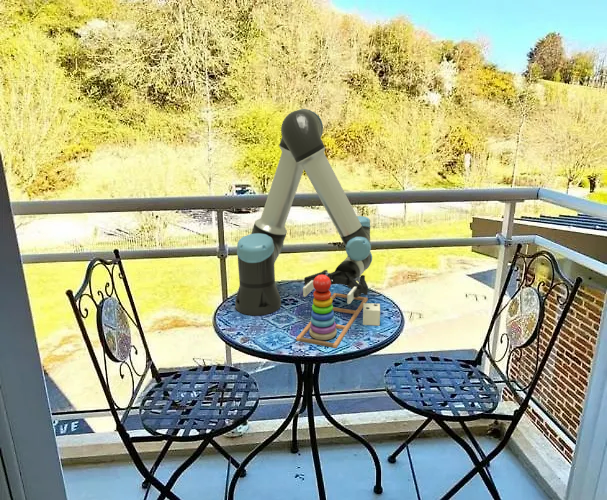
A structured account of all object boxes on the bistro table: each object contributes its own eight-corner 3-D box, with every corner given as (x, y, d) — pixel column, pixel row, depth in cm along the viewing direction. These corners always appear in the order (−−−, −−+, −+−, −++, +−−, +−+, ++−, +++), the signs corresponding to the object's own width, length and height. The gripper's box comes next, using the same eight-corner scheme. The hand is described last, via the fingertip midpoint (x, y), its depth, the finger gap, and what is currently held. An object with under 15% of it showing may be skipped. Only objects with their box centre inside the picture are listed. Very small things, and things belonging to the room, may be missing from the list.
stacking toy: (308, 328, 138) (307, 270, 132) (334, 327, 138) (335, 269, 132) (310, 341, 130) (309, 280, 124) (338, 340, 130) (338, 279, 125)
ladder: (296, 340, 131) (296, 337, 131) (334, 295, 161) (334, 292, 160) (336, 348, 127) (336, 345, 126) (367, 299, 156) (367, 297, 156)
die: (362, 325, 139) (363, 309, 138) (363, 317, 144) (363, 302, 142) (379, 325, 139) (380, 310, 137) (379, 318, 143) (379, 303, 142)
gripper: (386, 287, 146) (367, 314, 128) (314, 276, 156) (287, 301, 138) (387, 264, 144) (368, 289, 126) (314, 255, 154) (286, 277, 135)
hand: (325, 295), depth 132 cm, fingers open, 13 cm apart
